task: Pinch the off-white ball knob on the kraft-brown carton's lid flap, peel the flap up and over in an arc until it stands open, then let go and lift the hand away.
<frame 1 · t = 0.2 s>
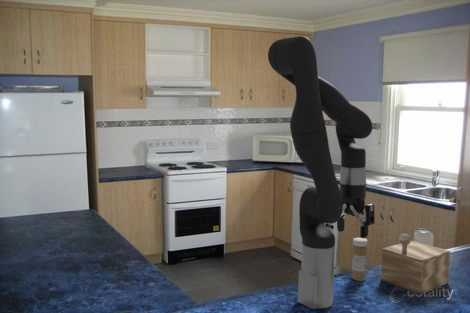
hand: (352, 234, 142), 18 cm above the counter, tool pointing down, fingers open, 8 cm apart
sprinkles bottle: (358, 279, 155), on the counter
carton: (414, 281, 153), on the counter
carton flap: (416, 241, 151), point 14 cm above the counter, hinge at 0.0°
can: (422, 263, 171), on the counter
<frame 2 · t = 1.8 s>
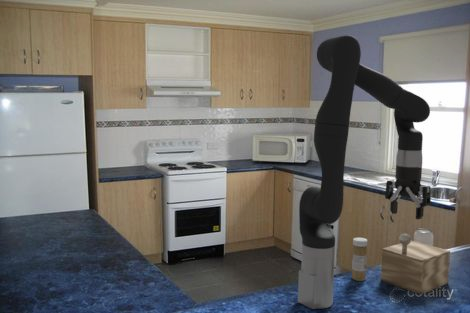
hand: (406, 216, 146), 23 cm above the counter, tool pointing down, fingers open, 8 cm apart
nothing on the counter moved.
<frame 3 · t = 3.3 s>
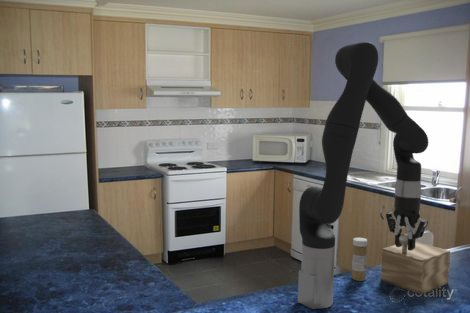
hand: (404, 248, 148), 12 cm above the counter, tool pointing down, fingers closed on carton flap, 3 cm apart
carton flap: (416, 241, 151), point 14 cm above the counter, hinge at 0.0°, touching gripper
everything else where it was.
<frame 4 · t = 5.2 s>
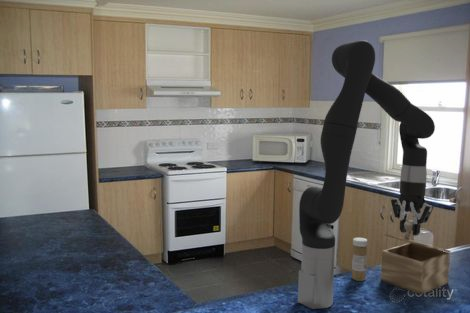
hand: (409, 233, 148), 17 cm above the counter, tool pointing down, fingers closed on carton flap, 3 cm apart
carton flap: (419, 233, 152), point 16 cm above the counter, hinge at 17.4°, touching gripper
everything else where it was.
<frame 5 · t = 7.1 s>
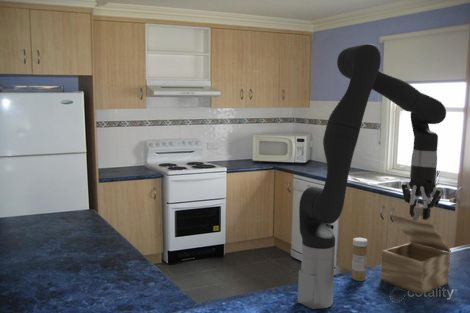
hand: (419, 217, 151), 21 cm above the counter, tool pointing down, fingers closed on carton flap, 3 cm apart
carton flap: (424, 225, 153), point 18 cm above the counter, hinge at 41.3°, touching gripper
everything else where it was.
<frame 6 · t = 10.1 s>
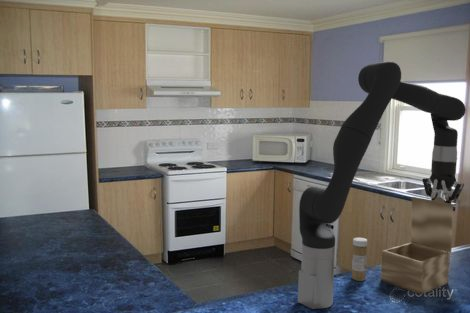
hand: (440, 210, 158), 22 cm above the counter, tool pointing down, fingers closed on carton flap, 3 cm apart
carton flap: (436, 221, 157), point 18 cm above the counter, hinge at 86.1°, touching gripper
everything else where it was.
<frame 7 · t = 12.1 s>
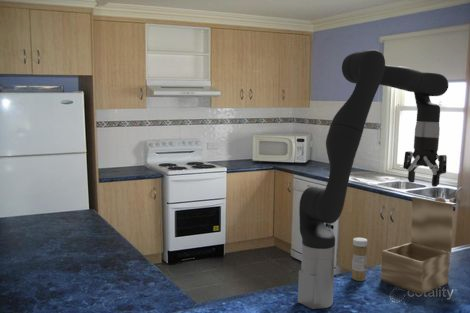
hand: (422, 184, 157), 31 cm above the counter, tool pointing down, fingers open, 8 cm apart
carton flap: (436, 221, 157), point 18 cm above the counter, hinge at 86.7°
everything else where it was.
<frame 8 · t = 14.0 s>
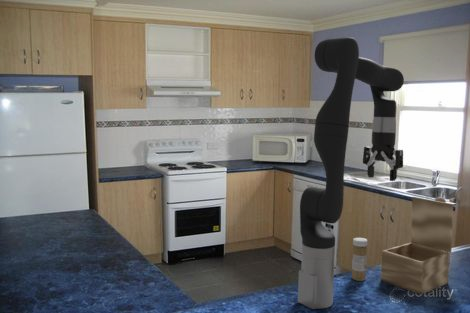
hand: (381, 178, 158), 32 cm above the counter, tool pointing down, fingers open, 8 cm apart
nothing on the counter moved.
at the end: carton flap at +87° (first picture: +0°); the gripper is holding nothing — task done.
